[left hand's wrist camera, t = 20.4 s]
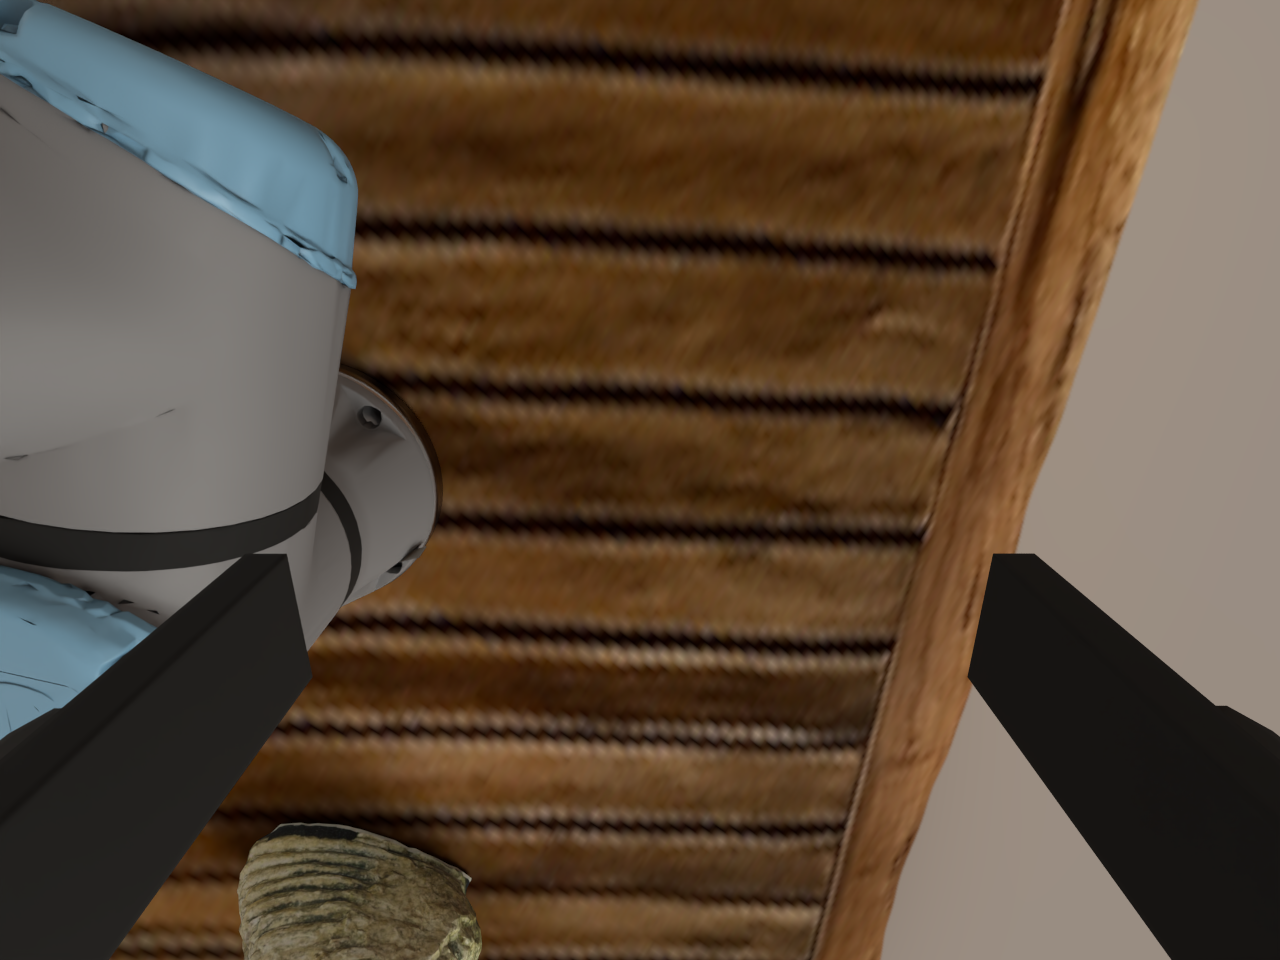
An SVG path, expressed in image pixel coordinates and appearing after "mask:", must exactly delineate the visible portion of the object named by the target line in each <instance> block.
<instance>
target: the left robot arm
mask: <svg viewBox="0 0 1280 960" xmlns="http://www.w3.org/2000/svg"><path fill="white" fill-rule="evenodd" d="M357 201H358V187H357V181H356V178H355V174H354V171H353V169H352V166H351V164H350V162H349V160H348V159H347V157H346V155H345V154H344V153H343V151H342V150H341V149H340V148H339V147H338V145H337V144H336V143H335V142H334V141H333V140H332V139H331V138H329V137H328V136H327V135H326V134H324V133H323V132H322V131H320V130H319V129H317V128H316V127H314V126H312V125H310V124H309V123H307V122H305V121H303V120H301V119H299V118H297V117H295V116H293V115H291V114H289V113H287V112H285V111H283V110H281V109H279V108H277V107H275V106H273V105H271V104H269V103H267V102H265V101H263V100H261V99H259V98H257V97H255V96H253V95H251V94H249V93H246V92H244V91H242V90H240V89H238V88H236V87H234V86H232V85H229V84H227V83H225V82H223V81H221V80H219V79H217V78H215V77H212V76H210V75H208V74H206V73H204V72H202V71H199V70H197V69H195V68H193V67H191V66H188V65H186V64H184V63H182V62H180V61H178V60H175V59H173V58H171V57H169V56H167V55H164V54H162V53H160V52H158V51H155V50H153V49H151V48H149V47H146V46H144V45H142V44H140V43H137V42H135V41H133V40H131V39H128V38H126V37H124V36H122V35H119V34H117V33H115V32H113V31H110V30H108V29H106V28H104V27H101V26H99V25H97V24H95V23H92V22H90V21H88V20H85V19H83V18H80V17H78V16H76V15H73V14H71V13H69V12H66V11H64V10H62V9H59V8H57V7H54V6H52V5H50V4H47V3H40V2H38V1H36V0H0V960H109V958H110V957H111V956H112V954H113V953H114V951H115V950H116V949H117V947H118V946H119V945H120V943H121V942H122V940H123V939H124V938H125V936H126V935H127V933H128V932H129V931H130V929H131V928H132V927H133V925H134V924H135V922H136V921H137V920H138V918H139V917H140V915H141V914H142V913H143V911H144V910H145V908H146V907H147V906H148V904H149V903H150V902H151V900H152V899H153V897H154V896H155V895H156V893H157V892H158V890H159V889H160V888H161V886H162V885H163V884H164V882H165V881H166V879H167V878H168V877H169V875H170V874H171V872H172V871H173V870H174V868H175V867H176V865H177V864H178V863H179V861H180V860H181V859H182V857H183V856H184V854H185V853H186V852H187V850H188V849H189V847H190V846H191V845H192V843H193V842H194V841H195V839H196V838H197V836H198V835H199V834H200V832H201V831H202V829H203V828H204V827H205V825H206V824H207V822H208V821H209V820H210V818H211V817H212V816H213V814H214V813H215V811H216V810H217V809H218V807H219V806H220V804H221V803H222V802H223V800H224V799H225V798H226V796H227V795H228V793H229V792H230V791H231V789H232V788H233V786H234V785H235V784H236V782H237V781H238V779H239V778H240V777H241V775H242V774H243V773H244V771H245V770H246V768H247V767H248V766H249V764H250V763H251V761H252V760H253V759H254V757H255V756H256V755H257V753H258V752H259V750H260V749H261V748H262V746H263V745H264V743H265V742H266V741H267V739H268V738H269V736H270V735H271V734H272V732H273V731H274V730H275V728H276V727H277V725H278V724H279V723H280V721H281V720H282V718H283V717H284V716H285V714H286V713H287V712H288V710H289V709H290V707H291V706H292V705H293V703H294V702H295V700H296V699H297V698H298V696H299V695H300V693H301V692H302V691H303V689H304V688H305V687H306V685H307V684H308V682H309V681H310V680H311V678H312V672H311V667H310V663H309V658H308V653H307V651H308V650H309V649H310V647H311V646H312V645H313V643H314V642H315V641H316V639H317V638H318V637H319V635H320V634H321V633H322V631H323V630H324V629H325V627H326V626H327V625H328V624H329V622H330V621H331V620H332V618H333V617H334V616H335V614H336V613H337V612H338V610H339V609H340V607H342V606H344V605H346V604H348V603H350V602H352V601H354V600H356V599H358V598H360V597H363V596H365V595H367V594H369V593H371V592H373V591H375V590H377V589H379V588H381V587H383V586H385V585H387V584H388V583H390V582H392V581H393V580H395V579H396V578H397V577H399V576H400V575H401V574H402V573H404V572H405V571H406V570H407V569H408V568H409V567H410V566H411V565H412V563H413V562H414V561H415V560H416V559H417V558H419V557H420V555H421V554H422V552H423V551H424V550H425V548H426V547H427V546H426V547H425V545H426V544H427V542H428V541H429V539H430V537H431V536H432V534H433V532H434V530H435V527H436V525H437V522H438V519H439V515H440V512H441V506H442V496H443V485H442V475H441V469H440V465H439V461H438V457H437V454H436V452H435V449H434V446H433V444H432V442H431V440H430V438H429V436H428V434H427V432H426V431H425V429H424V427H423V426H422V424H421V423H420V421H419V420H418V419H417V417H416V416H415V415H414V413H413V412H412V411H411V410H410V409H409V408H408V406H407V405H406V404H405V403H404V402H403V401H402V400H401V399H400V398H399V397H398V396H396V395H395V394H394V393H393V392H392V391H390V390H389V389H388V388H387V387H385V386H384V385H382V384H381V383H379V382H378V381H376V380H375V379H373V378H371V377H370V376H368V375H366V374H364V373H362V372H360V371H358V370H356V369H353V368H351V367H348V366H345V365H342V364H340V359H341V352H342V345H343V338H344V332H345V325H346V318H347V311H348V305H349V298H350V291H351V288H352V289H356V283H357V280H356V275H355V273H354V271H353V270H352V259H353V248H354V236H355V224H356V213H357ZM968 678H969V680H970V681H971V682H972V684H973V685H974V687H975V688H976V689H977V691H978V692H979V693H980V695H981V696H982V698H983V699H984V700H985V702H986V703H987V705H988V706H989V707H990V709H991V710H992V712H993V713H994V714H995V716H996V717H997V718H998V720H999V721H1000V723H1001V724H1002V725H1003V727H1004V728H1005V729H1006V731H1007V732H1008V734H1009V735H1010V736H1011V738H1012V739H1013V741H1014V742H1015V743H1016V745H1017V746H1018V748H1019V749H1020V750H1021V752H1022V753H1023V755H1024V756H1025V757H1026V759H1027V760H1028V761H1029V763H1030V764H1031V766H1032V767H1033V768H1034V770H1035V771H1036V773H1037V774H1038V775H1039V777H1040V778H1041V779H1042V781H1043V782H1044V784H1045V785H1046V786H1047V788H1048V789H1049V790H1050V792H1051V793H1052V795H1053V796H1054V797H1055V799H1056V800H1057V802H1058V803H1059V804H1060V806H1061V807H1062V809H1063V810H1064V811H1065V813H1066V814H1067V816H1068V817H1069V818H1070V820H1071V821H1072V822H1073V824H1074V825H1075V827H1076V828H1077V829H1078V831H1079V832H1080V834H1081V835H1082V836H1083V838H1084V839H1085V841H1086V842H1087V843H1088V845H1089V846H1090V847H1091V849H1092V850H1093V852H1094V853H1095V854H1096V856H1097V857H1098V859H1099V860H1100V861H1101V863H1102V864H1103V865H1104V867H1105V868H1106V869H1107V871H1108V872H1109V874H1110V875H1111V877H1112V878H1113V879H1114V881H1115V882H1116V883H1117V885H1118V886H1119V888H1120V889H1121V890H1122V892H1123V893H1124V894H1125V896H1126V897H1127V899H1128V900H1129V902H1130V903H1131V904H1132V906H1133V907H1134V908H1135V910H1136V911H1137V913H1138V914H1139V915H1140V917H1141V918H1142V920H1143V921H1144V922H1145V924H1146V925H1147V926H1148V928H1149V929H1150V931H1151V932H1152V933H1153V935H1154V936H1155V938H1156V939H1157V940H1158V942H1159V943H1160V945H1161V946H1162V947H1163V949H1164V950H1165V951H1166V953H1167V954H1168V956H1169V957H1170V958H1171V960H1280V737H1279V736H1278V735H1277V734H1276V733H1274V732H1273V731H1271V730H1270V729H1268V728H1266V727H1264V726H1262V725H1261V724H1259V723H1257V722H1255V721H1253V720H1252V719H1250V718H1248V717H1246V716H1244V715H1242V714H1241V713H1239V712H1237V711H1235V710H1233V709H1231V708H1230V707H1228V706H1215V705H1214V704H1213V703H1212V702H1210V701H1209V700H1208V699H1207V698H1206V697H1204V696H1203V695H1202V694H1201V693H1200V692H1199V691H1197V690H1196V689H1195V688H1194V687H1193V686H1191V685H1190V684H1189V683H1188V682H1187V681H1185V680H1184V679H1183V678H1182V677H1181V676H1180V675H1178V674H1177V673H1176V672H1175V671H1173V670H1172V669H1171V668H1170V667H1169V666H1168V665H1166V664H1165V663H1164V662H1163V661H1162V660H1160V659H1159V658H1158V657H1157V656H1156V655H1154V654H1153V653H1152V652H1151V651H1150V650H1149V649H1147V648H1146V647H1145V646H1144V645H1143V644H1141V643H1140V642H1139V641H1138V640H1137V639H1135V638H1134V637H1133V636H1132V635H1131V634H1129V633H1128V632H1127V631H1126V630H1125V629H1124V628H1122V627H1121V626H1120V625H1119V624H1118V623H1116V622H1115V621H1114V620H1113V619H1112V618H1110V617H1109V616H1108V615H1107V614H1106V613H1104V612H1103V611H1102V610H1101V609H1100V608H1099V607H1097V606H1096V605H1095V604H1094V603H1093V602H1091V601H1090V600H1089V599H1088V598H1087V597H1085V596H1084V595H1083V594H1082V593H1081V592H1079V591H1078V590H1077V589H1076V588H1075V587H1074V586H1072V585H1071V584H1070V583H1069V582H1068V581H1066V580H1065V579H1064V578H1063V577H1062V576H1060V575H1059V574H1058V573H1057V572H1056V571H1054V570H1053V569H1052V568H1051V567H1050V566H1049V565H1047V564H1046V563H1045V562H1044V561H1043V560H1041V559H1040V558H1039V557H1038V556H1037V555H1035V554H993V557H992V562H991V566H990V571H989V576H988V581H987V586H986V591H985V595H984V600H983V605H982V610H981V615H980V619H979V624H978V629H977V634H976V639H975V643H974V648H973V653H972V658H971V663H970V667H969V672H968Z"/></svg>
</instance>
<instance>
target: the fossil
mask: <svg viewBox="0 0 1280 960" xmlns="http://www.w3.org/2000/svg"><path fill="white" fill-rule="evenodd" d="M471 879H472V878H470V877H469V876H468V875H466V874H465V873H464V872H462V871H461V870H459V869H458V868H456V867H453V866H451V865H448V864H447V863H445V862H443V861H441V860H439V859H437V858H435V857H433V856H430V855H428V854H426V853H424V852H422V851H420V850H418V849H416V848H408V847H407V846H405V845H403V844H401V843H399V842H397V841H395V840H393V839H390V838H387V837H384V836H380V835H377V834H374V833H371V832H368V831H365V830H362V829H357V828H353V827H350V826H344V825H338V824H322V823H315V824H306V823H290V824H280V825H279V826H278V827H277V828H276V829H275V830H274V831H273V832H271V833H270V834H268V835H266V836H264V837H262V838H261V839H259V840H258V841H257V842H256V843H255V844H254V845H253V846H252V848H251V849H250V851H249V856H248V860H247V863H246V865H245V867H244V868H243V870H242V872H241V873H240V881H239V887H238V890H237V892H238V895H239V913H240V916H241V925H240V928H239V932H240V934H241V936H242V939H243V951H244V955H245V956H244V960H477V959H478V956H479V954H480V952H481V948H482V940H481V930H480V927H479V925H478V923H477V920H476V913H475V911H474V910H473V908H472V906H471V904H470V903H469V901H468V899H467V898H466V889H467V887H468V885H469V883H470V881H471Z"/></svg>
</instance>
